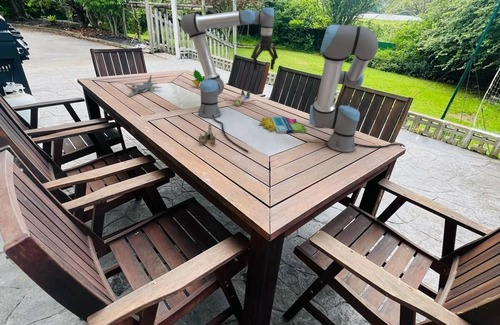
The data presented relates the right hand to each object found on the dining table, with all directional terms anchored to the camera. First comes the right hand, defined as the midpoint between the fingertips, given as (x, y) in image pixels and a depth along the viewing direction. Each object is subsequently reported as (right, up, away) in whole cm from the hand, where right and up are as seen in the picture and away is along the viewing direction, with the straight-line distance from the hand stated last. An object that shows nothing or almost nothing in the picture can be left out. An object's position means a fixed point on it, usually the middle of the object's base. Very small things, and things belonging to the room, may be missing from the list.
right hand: (320, 122), depth 179 cm
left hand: (-39, +36, 0) cm, 53 cm away
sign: (-27, -3, -2) cm, 27 cm away
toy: (-56, +24, +42) cm, 73 cm away
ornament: (-94, +46, +75) cm, 129 cm away
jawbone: (-72, -16, -32) cm, 80 cm away
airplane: (-142, +35, +50) cm, 155 cm away
